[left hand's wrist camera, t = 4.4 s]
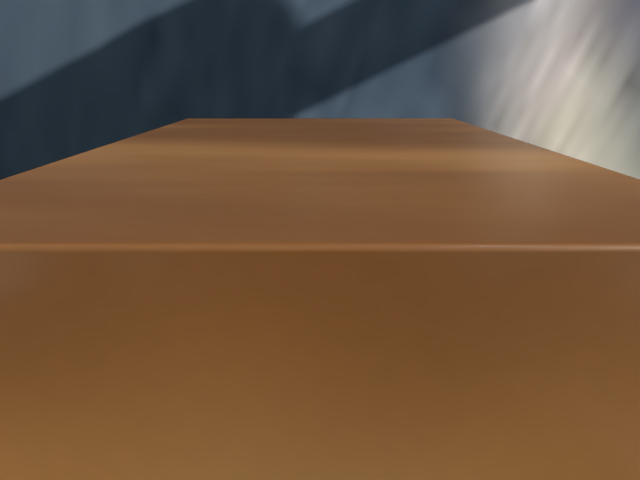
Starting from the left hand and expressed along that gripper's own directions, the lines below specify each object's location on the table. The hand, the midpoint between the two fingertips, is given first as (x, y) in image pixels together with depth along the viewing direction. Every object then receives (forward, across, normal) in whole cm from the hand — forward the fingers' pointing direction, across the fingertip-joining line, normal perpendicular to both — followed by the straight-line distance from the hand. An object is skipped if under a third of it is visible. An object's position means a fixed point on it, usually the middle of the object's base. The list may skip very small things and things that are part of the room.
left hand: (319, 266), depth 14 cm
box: (+2, 0, -8) cm, 8 cm away
